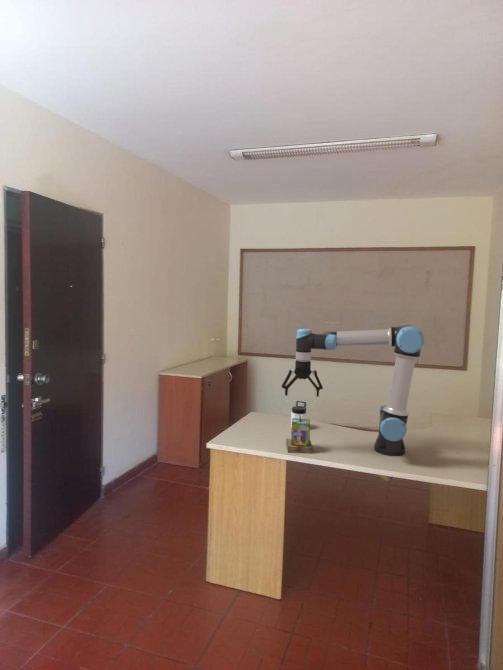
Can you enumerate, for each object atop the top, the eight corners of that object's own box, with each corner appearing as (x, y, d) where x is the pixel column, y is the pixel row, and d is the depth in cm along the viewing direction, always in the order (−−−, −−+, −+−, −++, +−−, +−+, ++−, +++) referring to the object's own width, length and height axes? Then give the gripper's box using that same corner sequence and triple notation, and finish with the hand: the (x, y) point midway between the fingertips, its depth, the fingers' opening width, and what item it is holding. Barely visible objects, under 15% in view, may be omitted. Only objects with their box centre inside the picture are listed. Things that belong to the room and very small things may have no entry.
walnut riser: (309, 445, 237) (309, 439, 236) (312, 453, 225) (312, 447, 224) (286, 444, 237) (286, 438, 236) (288, 452, 225) (288, 446, 224)
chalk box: (309, 446, 225) (310, 417, 224) (290, 445, 226) (292, 416, 225) (309, 440, 234) (310, 412, 233) (291, 439, 235) (292, 411, 234)
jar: (296, 425, 272) (297, 405, 270) (308, 428, 266) (309, 407, 265) (288, 428, 265) (288, 407, 263) (300, 431, 260) (300, 410, 258)
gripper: (327, 359, 230) (325, 401, 232) (277, 358, 230) (276, 400, 232) (329, 362, 223) (327, 405, 225) (278, 360, 223) (276, 403, 225)
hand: (301, 402), depth 228 cm, fingers open, 13 cm apart
